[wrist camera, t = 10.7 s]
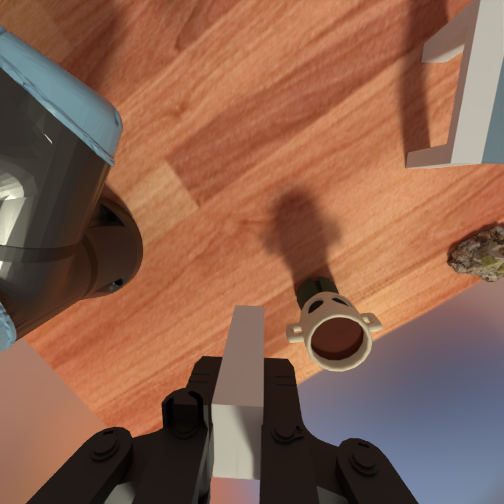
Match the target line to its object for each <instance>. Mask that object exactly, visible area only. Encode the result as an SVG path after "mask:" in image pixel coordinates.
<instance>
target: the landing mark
mask: <svg viewBox="0 0 504 504" xmlns="http://www.w3.org/2000/svg"><path fill="white" fill-rule="evenodd" d="M481 163H498V164H504V57H503V62H502V66H501V71H500V76H499V81H498V85H497V90H496V95H495V100H494V104H493V109H492V114H491V119H490V124H489V128H488V133H487V138H486V143H485V147H484V152H483V157H482V162H481Z"/></svg>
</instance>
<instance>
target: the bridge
mask: <svg viewBox="0 0 504 504" xmlns="http://www.w3.org/2000/svg"><path fill="white" fill-rule="evenodd" d="M462 51H463V56H462V61H461V67H460V73H459V78H458V84H457V90H456V95H455V101H454V106H453V112H452V118H451V123H450V129H449V135H448V140H447V144H445V145H440V146H436V147H431V148H427V149H422V150H417V151H413V152H408V156H407V162H406V168H426V169H429V168H440V167H451V166H462V165H473V164H481V162H482V157H483V152H484V147H485V143H486V138H487V133H488V128H489V124H490V119H491V114H492V109H493V104H494V100H495V95H496V90H497V85H498V81H499V76H500V71H501V66H502V62H503V57H504V0H473V1H472V2H471V3H470V4H469V5H467V6H466V7H465V8H464V9H463V10H462V11H461V12H459V13H458V14H457V15H456V16H455V17H454V18H453V19H451V20H450V21H449V22H448V23H447V24H446V25H445V26H444V27H442V28H441V29H440V30H439V31H438V32H437V33H436V34H434V35H433V36H432V37H431V38H430V39H429V40H428V41H426V42H425V43H424V46H423V53H422V60H421V63H423V62H447V61H449V60H450V59H452V58H453V57H455V56H456V55H458V54H459V53H461V52H462Z"/></svg>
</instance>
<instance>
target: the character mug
mask: <svg viewBox="0 0 504 504" xmlns="http://www.w3.org/2000/svg"><path fill="white" fill-rule="evenodd" d="M318 279H319V282H315V283H314V281H313V280H312V278H311V279H308V280H307V281H306V282H304V283H303V284H302V285H301V287H300V288H299V290H298V292H297V302H298V304H299V307H300V309H301V315H300V323H295V324H289V325H287V327H286V336H287V339H288V341H289V342H290V343H295V342H302V341H304V342H305V346H306V348H307V351H308V353H309V356H310V358H311V359H312V360H313V361H314V362H315V363H316V364H317V365H318V366H320V367H322V368H325V369H327V370H329V371H345V370H349V369H352V368H355V367H356V366H358V365H359V364H360V363H361V362H363V361H364V360H365V359H366V357H367V356H368V354H369V352H370V351H371V346H372V336H371V333H370V332H374V331H379V330H381V329H382V324H381V322H380V321H379V320H378V319H377V317H376V316H375V315H374V314H373V313H363V314H359V312H358V311H357V309H356V308H355V307H354V305H353V304H352V302H351V301H350V300H348V299H347V298H345V297H344V296H342V295H339V292H338V290H337V288H336V286H335V285H334V284H333V283H332V282H331V281H330V280H329V279H325V278H322V277H318ZM365 321H369V322H370V323H366V322H365ZM295 331H302V333H297V334H294V332H295Z"/></svg>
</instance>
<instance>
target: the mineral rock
mask: <svg viewBox="0 0 504 504" xmlns="http://www.w3.org/2000/svg"><path fill="white" fill-rule="evenodd" d="M452 257H453V258H452V259H451V260H450V261H449V262H448V265H449V266H451V267H454V271H455V272H457V273H467V274H471V275H474V276H476V275H479V276H480V277H482V279H483V280H485V281H487V282H496V281H497V280H498V279H499V278H501V277H504V228H503V227H500V226H499V225H498V226H495V227H494V228H492V229H489V230H488V231H483V232H480V233H478V234H477V235H474V236H473V237H471V238H470V239H468V240H467V241H463V242H461V243H460V244H459V245H458V250H456V251H454V252H453V253H452Z"/></svg>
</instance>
